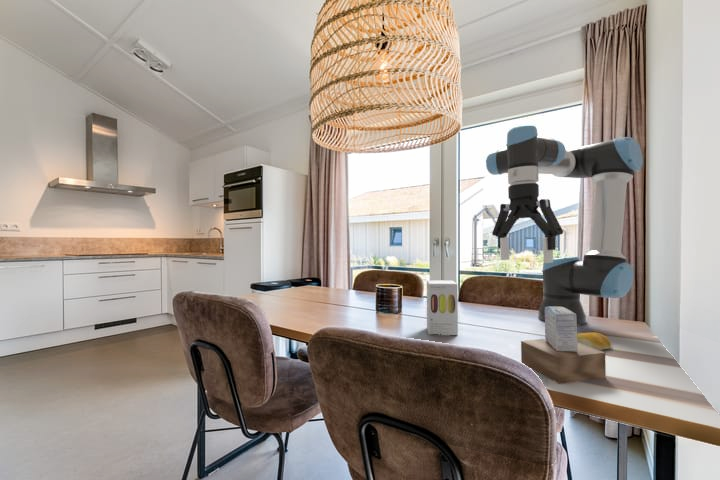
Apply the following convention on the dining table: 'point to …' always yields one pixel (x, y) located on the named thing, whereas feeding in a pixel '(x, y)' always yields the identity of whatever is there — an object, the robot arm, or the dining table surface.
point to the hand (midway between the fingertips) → (525, 261)
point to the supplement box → (442, 307)
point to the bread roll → (594, 340)
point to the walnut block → (563, 362)
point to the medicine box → (561, 329)
